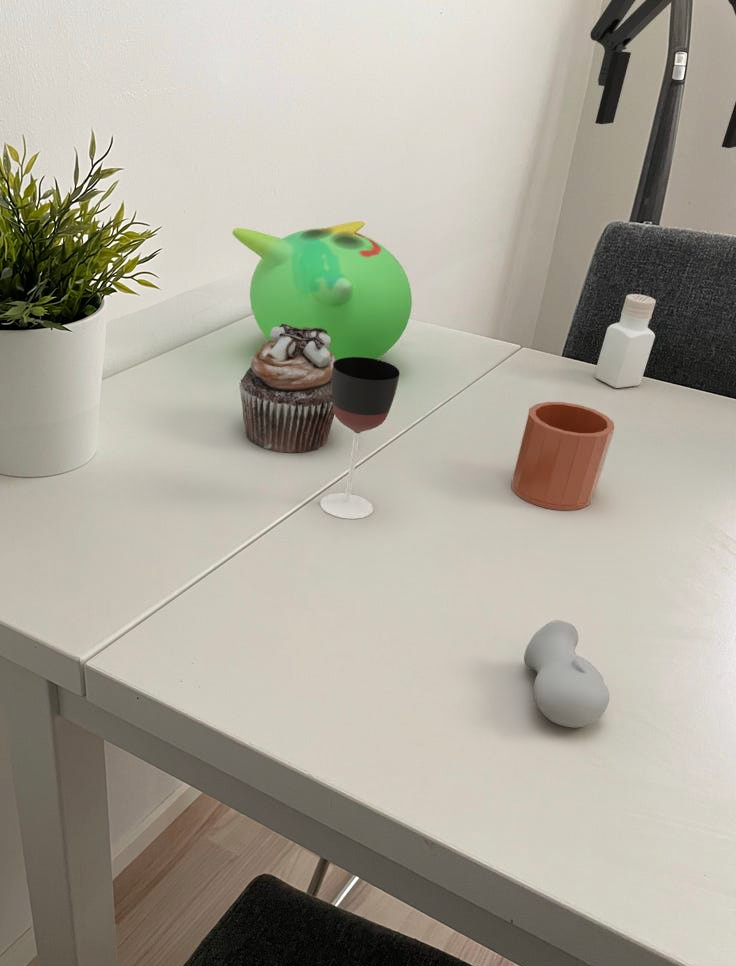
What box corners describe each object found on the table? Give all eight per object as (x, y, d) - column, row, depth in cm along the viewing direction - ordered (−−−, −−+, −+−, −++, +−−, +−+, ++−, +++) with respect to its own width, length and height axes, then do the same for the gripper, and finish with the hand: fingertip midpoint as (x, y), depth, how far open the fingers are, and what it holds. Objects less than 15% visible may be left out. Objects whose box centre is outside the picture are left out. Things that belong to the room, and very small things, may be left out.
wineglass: (324, 487, 87) (342, 352, 80) (383, 500, 86) (405, 365, 79) (308, 510, 83) (325, 371, 76) (369, 525, 82) (392, 384, 75)
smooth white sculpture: (594, 756, 62) (522, 727, 61) (575, 676, 69) (509, 650, 68) (635, 709, 60) (560, 678, 59) (612, 631, 66) (544, 602, 65)
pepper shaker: (617, 374, 116) (642, 291, 111) (641, 387, 113) (668, 302, 108) (591, 377, 115) (614, 293, 109) (615, 390, 112) (640, 305, 106)
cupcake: (232, 412, 98) (239, 311, 93) (328, 416, 100) (341, 316, 94) (239, 455, 91) (247, 347, 85) (344, 458, 92) (359, 352, 86)
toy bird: (427, 368, 113) (452, 232, 104) (337, 404, 102) (356, 256, 94) (304, 325, 122) (318, 197, 114) (209, 354, 111) (217, 215, 103)
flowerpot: (591, 481, 92) (612, 409, 88) (592, 516, 86) (616, 441, 82) (512, 467, 93) (530, 396, 89) (509, 501, 87) (527, 426, 83)
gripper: (593, -136, 94) (539, 116, 106) (873, -124, 81) (774, 160, 93) (628, -128, 99) (572, 112, 111) (898, -116, 86) (800, 154, 98)
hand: (664, 134), depth 102 cm, fingers open, 13 cm apart
